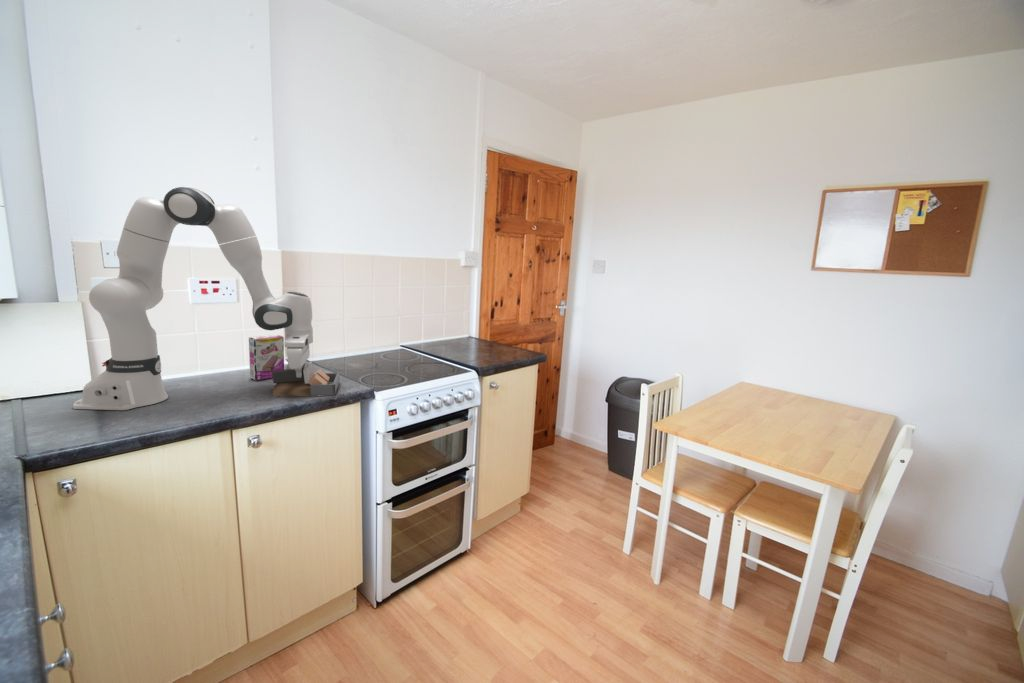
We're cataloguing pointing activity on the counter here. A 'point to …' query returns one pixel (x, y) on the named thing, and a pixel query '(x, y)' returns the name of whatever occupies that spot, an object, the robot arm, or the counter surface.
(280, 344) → the candy bar box
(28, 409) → the counter surface
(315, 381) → the tile
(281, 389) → the board
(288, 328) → the robot arm
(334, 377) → the tray
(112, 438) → the counter surface
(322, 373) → the tile
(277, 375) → the scraper
